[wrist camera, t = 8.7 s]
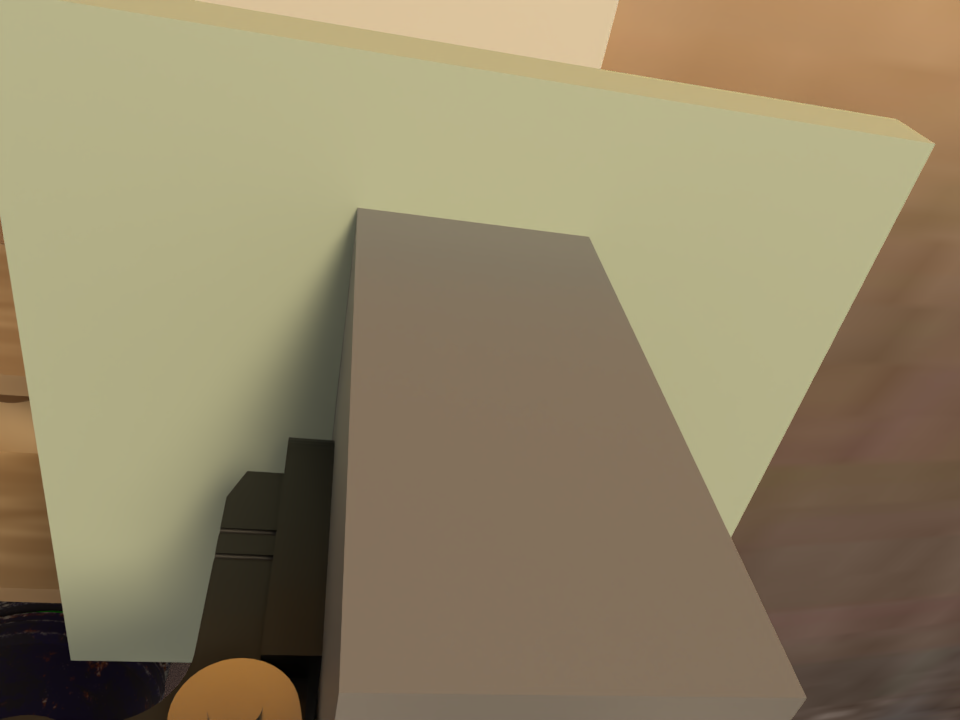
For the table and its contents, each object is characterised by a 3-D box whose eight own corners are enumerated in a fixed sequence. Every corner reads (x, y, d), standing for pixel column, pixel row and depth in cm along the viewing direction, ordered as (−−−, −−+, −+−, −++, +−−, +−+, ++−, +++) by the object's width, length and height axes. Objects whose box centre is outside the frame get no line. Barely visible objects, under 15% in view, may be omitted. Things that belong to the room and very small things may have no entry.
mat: (194, -197, 24) (192, -196, 23) (641, -101, 26) (645, -100, 26) (198, 231, 32) (197, 236, 31) (543, 271, 34) (545, 276, 34)
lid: (27, -48, 10) (-806, 368, 3) (863, 97, 13) (1531, 529, 5) (99, 576, 17) (-107, 1173, 10) (637, 596, 19) (797, 1090, 12)
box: (-79, 235, 30) (-200, 358, 24) (225, 268, 33) (188, 389, 26) (-30, 453, 37) (-116, 598, 30) (223, 468, 39) (193, 606, 32)
